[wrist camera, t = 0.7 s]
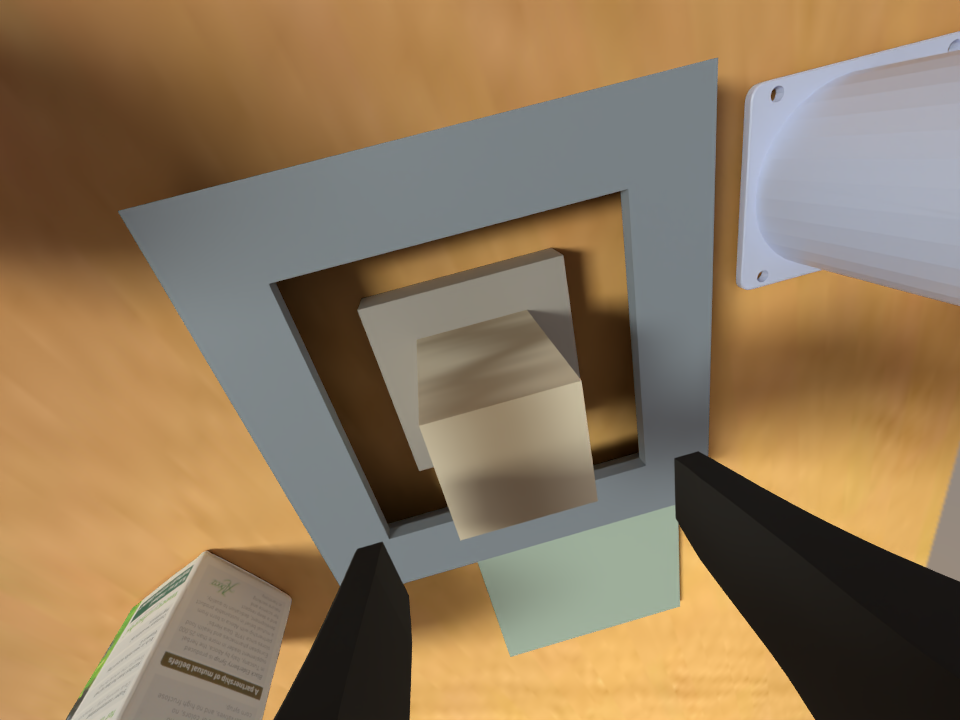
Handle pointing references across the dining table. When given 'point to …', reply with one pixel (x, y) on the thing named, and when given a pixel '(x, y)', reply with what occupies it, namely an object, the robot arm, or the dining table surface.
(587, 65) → the dining table surface
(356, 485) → the box
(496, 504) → the maple block
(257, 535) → the dining table surface
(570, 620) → the zone pad
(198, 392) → the dining table surface
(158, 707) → the syrup box
